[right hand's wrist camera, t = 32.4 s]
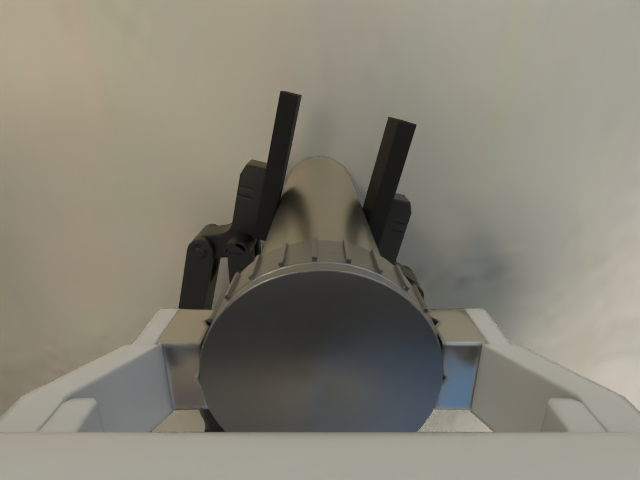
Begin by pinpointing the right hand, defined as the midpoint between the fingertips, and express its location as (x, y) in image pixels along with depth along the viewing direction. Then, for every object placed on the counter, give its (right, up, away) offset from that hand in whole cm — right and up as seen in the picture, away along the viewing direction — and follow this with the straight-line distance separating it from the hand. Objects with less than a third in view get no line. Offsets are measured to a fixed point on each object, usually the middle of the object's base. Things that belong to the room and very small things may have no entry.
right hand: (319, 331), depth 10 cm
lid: (0, -1, -2) cm, 2 cm away
